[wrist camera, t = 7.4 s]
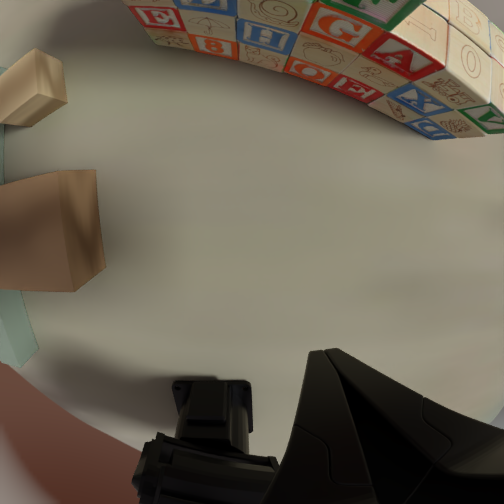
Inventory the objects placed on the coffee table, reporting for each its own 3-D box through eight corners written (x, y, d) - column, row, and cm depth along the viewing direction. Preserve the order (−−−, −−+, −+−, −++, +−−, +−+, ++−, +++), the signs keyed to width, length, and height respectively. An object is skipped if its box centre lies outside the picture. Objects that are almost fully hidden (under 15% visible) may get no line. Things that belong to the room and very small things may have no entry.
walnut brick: (107, 266, 19) (74, 292, 15) (17, 268, 19) (-18, 288, 14) (97, 169, 18) (57, 170, 13) (6, 188, 17) (-34, 196, 13)
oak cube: (68, 102, 16) (37, 93, 12) (31, 127, 16) (-1, 123, 12) (62, 62, 15) (34, 47, 11) (27, 87, 15) (-3, 78, 11)
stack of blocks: (443, 77, 16) (555, 43, 4) (432, 142, 18) (564, 138, 6) (184, -16, 14) (148, -126, 2) (152, 46, 15) (71, -56, 4)
